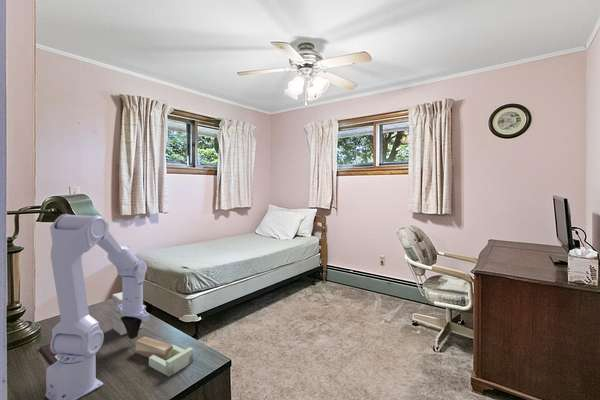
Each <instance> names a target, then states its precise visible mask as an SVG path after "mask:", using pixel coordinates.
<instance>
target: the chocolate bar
mask: <svg viewBox="0 0 600 400" xmlns="http://www.w3.org/2000/svg"><path fill="white" fill-rule="evenodd" d="M50 344H51V343H49V344H46V345H43V346H40V347H39V350H40V352H41V353H42V354H43V355H44V356H45V357H46V359H48V361H49V362H50V363H51V365H52V364H54V363H55V362H57V361H58V360H59V359H58V358H57V354H56V353H53V352H52V351H51V348H50ZM96 358H98V357H97V354H96Z"/></svg>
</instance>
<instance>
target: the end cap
mask: <svg viewBox="0 0 600 400" xmlns="http://www.w3.org/2000/svg"><path fill="white" fill-rule="evenodd" d="M172 345H173V357H172V358H170V359H168V360H166V361H165V360H163V359H161V358H159V357H157V356H155V355H152V356H150V357H148V367H150V368H153V369H154V370H156V371H158V372H159V373H161V374H164V375H165V376H166V377H171V376H173V375H174V374H176V373H177V372H179V371H181V370H182V369H185V367H187V366H189V365H190V364H192V363H193V362H194V348H193V347H187V348H186V349H184V348H182V347H179V346H177V345H175V344H172Z"/></svg>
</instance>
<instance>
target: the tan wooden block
mask: <svg viewBox="0 0 600 400" xmlns="http://www.w3.org/2000/svg"><path fill="white" fill-rule="evenodd" d="M173 345H174V344H170V343H166V342H163V341H161V340H157V339H153V338H151V337H148V336H142V337H140V338H138V339H137V340H135V354H138V355H141V356H144V357H147V358H149V357H150V356H152V355H155V356H157V357H159V358H161V359H163V360H165V361H166V360H168V359H170V358H172V357H173Z"/></svg>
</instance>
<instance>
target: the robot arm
mask: <svg viewBox="0 0 600 400" xmlns="http://www.w3.org/2000/svg"><path fill="white" fill-rule="evenodd" d="M109 225H110V223H108V222H107V221H106V219H105V218H104V217H103V216H101V215H84V214H83V215H82V214H81V215H79V214H69V213H63V214H61V215H59V216H58V217H57V218H56V219H55V220H54V222H53V223H52V224H51V225H50V227H49V228H50V237H51V242H52V243H51V244H52V245H51V249H50V260H51V266H52V275H53V279H54V285H55V292H56V298H57V304H58V310H59V317H60V321H59V322H58V323H57V324H55V326H54V327H53V328H52V329H51V335H52V336H51V340H50V343H49V344H50V348H51V351H52V352H53V353H56V354H57V358H58V359H59V360H58V361H57V362H55V363H54V364H52V363H51V365H49V366H47V368H46V370H45V386H46V387H45V389H46V390H45V391H46V392H45V394H44V395H45V397H46V398H47V399H48V400H79V399H80V398H82V397H84V396H85V395H88V394H90V393H91V392H93V391H95V390H96V389H99V388H100V387H102V386H104V382H102V381H101V380H100V379H98V378H97V377H96V374H97V371H96V368H97V367H96V366H97V365H96V361H97V360H96V358H97V357H96V355H97V352H99V351H100V349H101V347H102V345H103V343H104V338H105V337H104V332H103V330H102V329H101V328H100V322H99V321H98V320H97V319H95V317H93V316H91V315H90V311H89V303H88V298H87V297H88V296H87V291H86V282H85V276H84V267H83V261H82V257H83V255H84V253H87V252H89V251H90V250H91V249H92V248H93V247H94V246H96V245H97V246H98V247H100V248H101V249H102V250H104V251H105V252H106V253H107V255H106V256H107V257H106V258H107V260H108V261H109V262H110V263H111V264H112V265H113V266H115V268H116V272H117V275H118V276H119V277H121V279H122V280H121V286H122V287H121V290H122V291H121V292H122V304H120V305H117V311H121V313H122V315H124V316H123V317H121V321H122V322H123V324H124V326H125V328H126V331H127V333H126V334H127V337H128V339H130V340H133V339H135V338H137V337H138V335H139V331H140V329H141V328H140V325H141V323H142V322H143V323H146V322H147V321H150V320H151V319H150V318H151V317H150V313H148V312H147V310H146V309H147V306H146V305H145V304H144V288H143V287H144V282H145V279H146V278H145V277H146V273H147V270H148V265H147V263H146V261H144V260H143V259H140V258H138V257H137V256H136V254H134V253H133V251H132V250H131V249H130V247H129V245H125V244H120V243H119V242H118V241H117V239H116V238H115V237H114V235H113V234H112V232H111V231H110V229H109V227H110V226H109ZM139 328H140V329H139Z"/></svg>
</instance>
